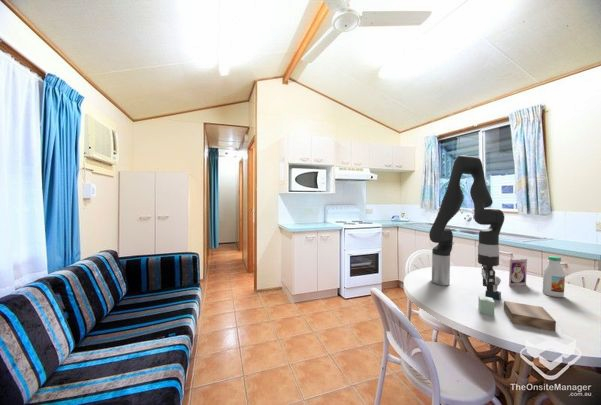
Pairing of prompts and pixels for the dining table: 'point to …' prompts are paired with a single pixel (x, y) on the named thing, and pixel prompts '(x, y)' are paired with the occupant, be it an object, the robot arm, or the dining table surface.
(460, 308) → the dining table surface
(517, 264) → the greeting card
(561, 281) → the milk bottle
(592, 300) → the dining table surface
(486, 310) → the block
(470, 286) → the dining table surface
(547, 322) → the plinth
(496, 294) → the watch
